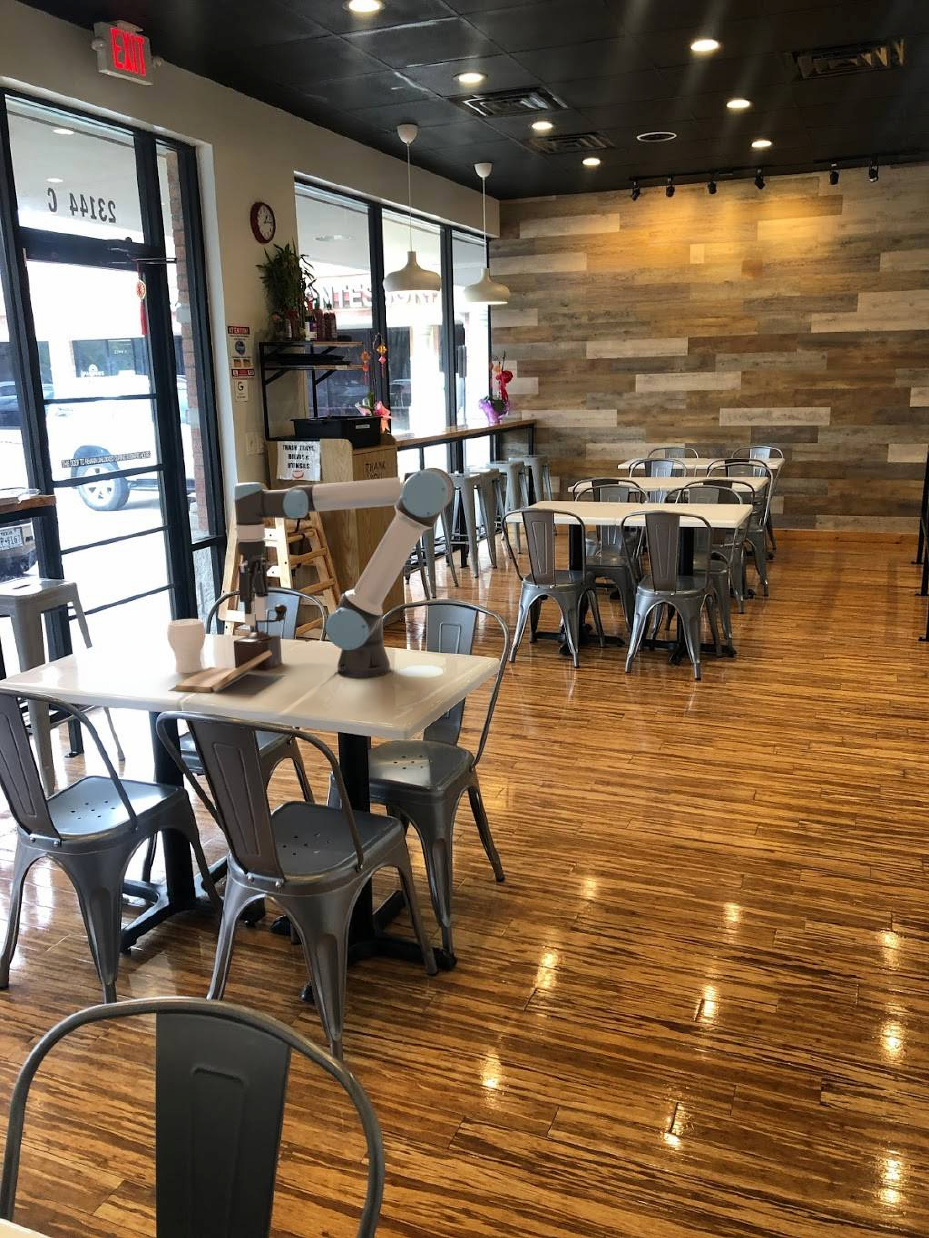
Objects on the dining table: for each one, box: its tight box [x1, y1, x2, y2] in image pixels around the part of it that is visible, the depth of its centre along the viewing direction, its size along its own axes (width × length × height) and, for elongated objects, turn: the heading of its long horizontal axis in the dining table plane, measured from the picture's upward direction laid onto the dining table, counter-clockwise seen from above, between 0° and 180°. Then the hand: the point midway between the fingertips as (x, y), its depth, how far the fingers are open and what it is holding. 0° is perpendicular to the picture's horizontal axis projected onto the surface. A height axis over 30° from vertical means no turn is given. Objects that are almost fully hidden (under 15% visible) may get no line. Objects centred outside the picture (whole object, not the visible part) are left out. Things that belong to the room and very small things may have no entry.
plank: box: [212, 650, 272, 691], centre depth 287 cm, size 10×20×2 cm
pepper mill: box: [233, 603, 288, 672], centre depth 308 cm, size 16×11×18 cm
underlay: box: [167, 672, 286, 696], centre depth 289 cm, size 25×21×1 cm
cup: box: [166, 618, 206, 674], centre depth 303 cm, size 11×11×15 cm
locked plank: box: [175, 666, 237, 693], centre depth 290 cm, size 10×20×2 cm, turn 167°
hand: (255, 622), depth 290 cm, fingers open, 6 cm apart
